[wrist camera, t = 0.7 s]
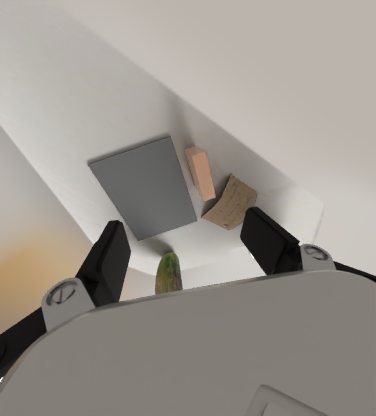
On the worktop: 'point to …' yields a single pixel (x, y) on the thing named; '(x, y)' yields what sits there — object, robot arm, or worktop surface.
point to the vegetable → (168, 275)
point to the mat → (147, 188)
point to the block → (200, 172)
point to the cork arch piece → (232, 204)
